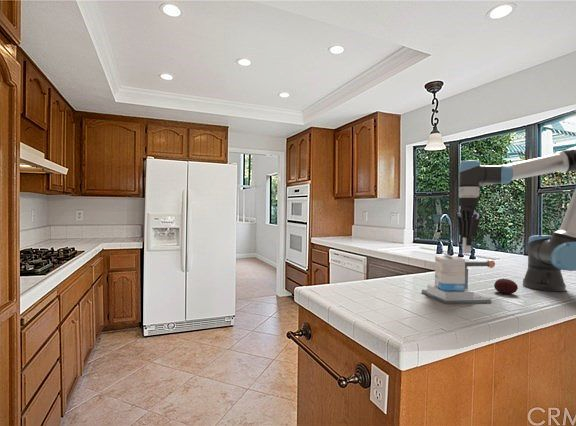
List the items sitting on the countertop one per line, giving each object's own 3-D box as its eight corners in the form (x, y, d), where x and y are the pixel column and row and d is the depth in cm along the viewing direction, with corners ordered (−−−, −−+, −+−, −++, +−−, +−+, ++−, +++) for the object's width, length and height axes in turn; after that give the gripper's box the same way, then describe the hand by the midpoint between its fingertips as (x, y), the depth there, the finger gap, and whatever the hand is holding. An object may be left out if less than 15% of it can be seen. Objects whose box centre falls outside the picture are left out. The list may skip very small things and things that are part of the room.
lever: (490, 266, 138) (490, 259, 138) (497, 268, 134) (497, 260, 134) (455, 267, 136) (455, 259, 136) (461, 269, 132) (461, 261, 132)
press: (462, 291, 138) (463, 266, 137) (491, 302, 122) (491, 274, 122) (421, 292, 135) (422, 266, 135) (445, 304, 119) (446, 274, 119)
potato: (504, 296, 131) (505, 281, 131) (489, 291, 139) (489, 277, 139) (521, 296, 132) (521, 281, 132) (504, 290, 140) (505, 276, 140)
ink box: (465, 291, 121) (466, 254, 121) (441, 290, 122) (442, 254, 122) (456, 285, 130) (457, 251, 129) (434, 285, 131) (434, 251, 130)
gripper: (450, 197, 146) (448, 250, 147) (470, 196, 133) (468, 255, 134) (466, 197, 147) (464, 250, 148) (487, 197, 134) (485, 255, 135)
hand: (466, 252), depth 141 cm, fingers closed
